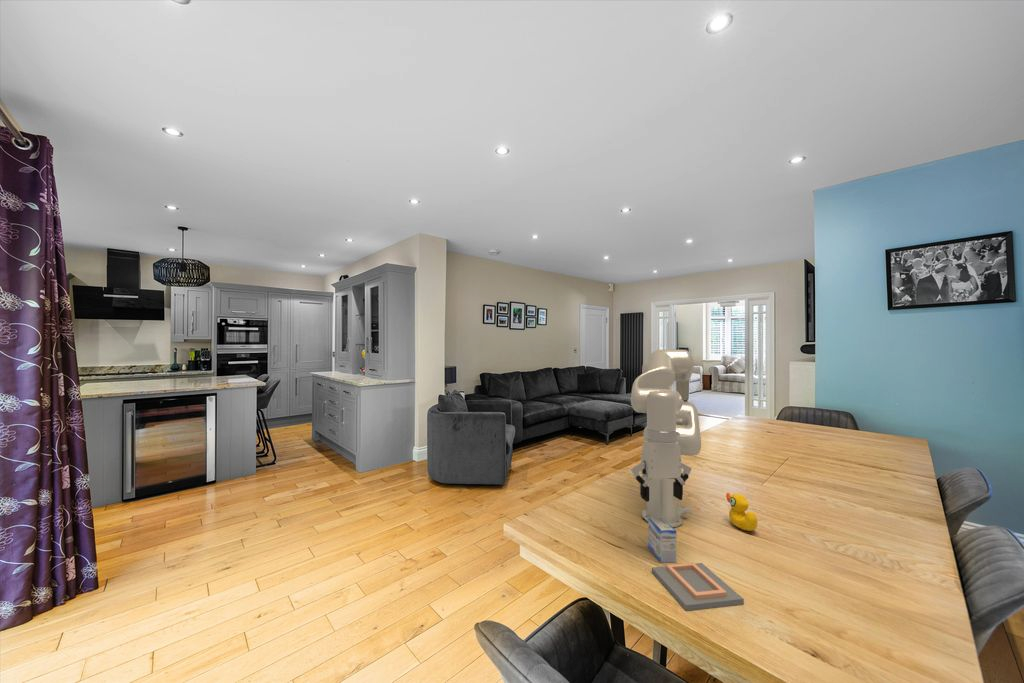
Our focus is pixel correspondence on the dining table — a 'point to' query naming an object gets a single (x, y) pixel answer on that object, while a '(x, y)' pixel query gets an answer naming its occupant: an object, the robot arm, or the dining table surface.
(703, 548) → the dining table surface
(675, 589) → the base plate
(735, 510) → the duckling
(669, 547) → the medicine box
